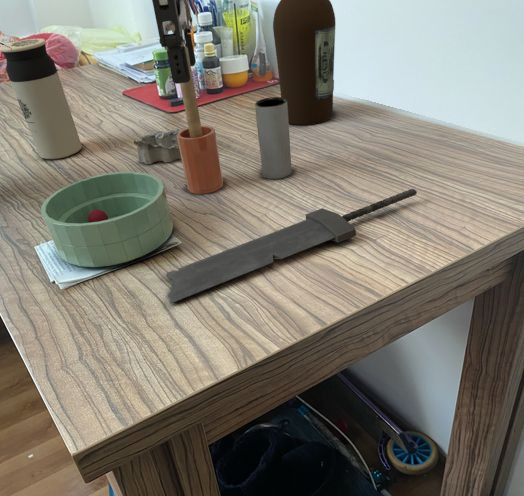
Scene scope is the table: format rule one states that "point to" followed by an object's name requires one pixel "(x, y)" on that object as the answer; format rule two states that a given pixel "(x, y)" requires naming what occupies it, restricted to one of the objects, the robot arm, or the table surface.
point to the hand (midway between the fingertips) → (185, 73)
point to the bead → (97, 216)
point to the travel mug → (41, 98)
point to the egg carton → (158, 146)
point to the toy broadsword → (269, 249)
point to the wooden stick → (191, 105)
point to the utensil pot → (200, 161)
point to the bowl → (119, 218)
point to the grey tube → (274, 137)
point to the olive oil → (305, 58)
